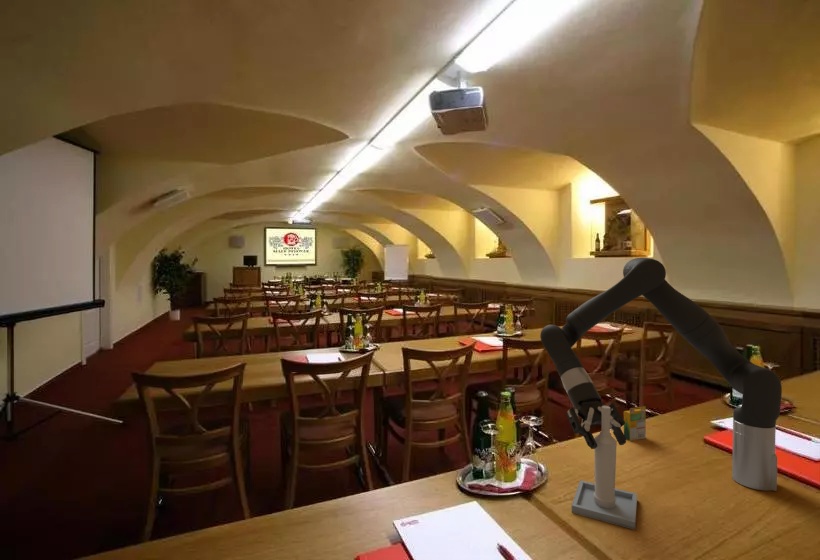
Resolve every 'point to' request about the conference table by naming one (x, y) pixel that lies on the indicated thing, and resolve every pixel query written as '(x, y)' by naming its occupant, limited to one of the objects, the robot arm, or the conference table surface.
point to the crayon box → (635, 423)
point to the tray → (617, 515)
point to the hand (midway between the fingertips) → (609, 445)
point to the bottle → (605, 463)
